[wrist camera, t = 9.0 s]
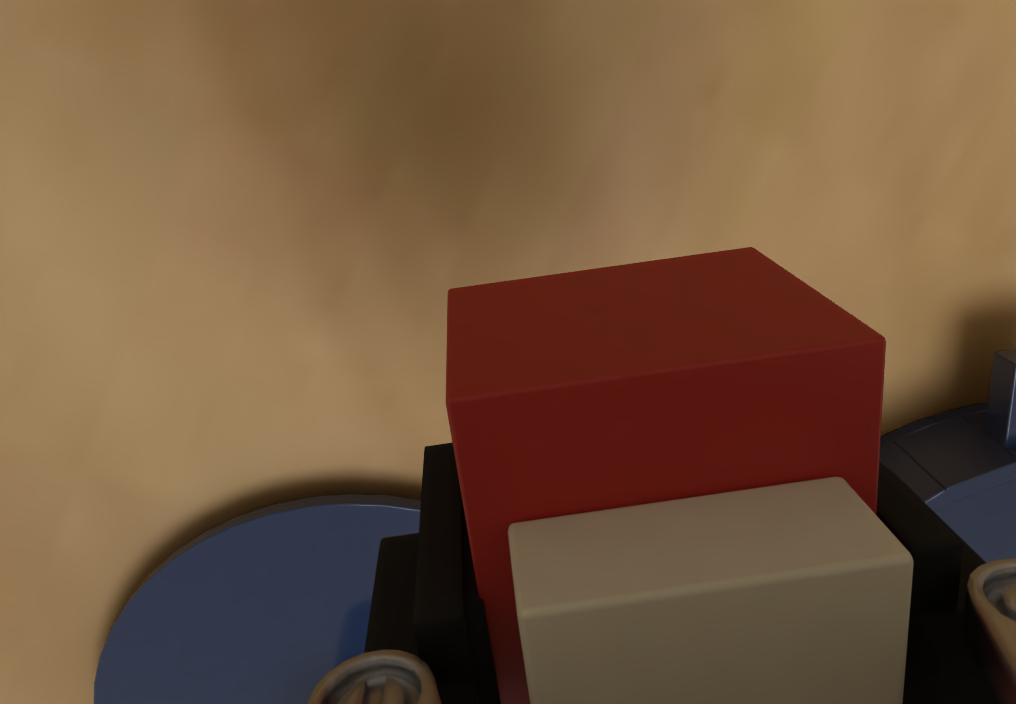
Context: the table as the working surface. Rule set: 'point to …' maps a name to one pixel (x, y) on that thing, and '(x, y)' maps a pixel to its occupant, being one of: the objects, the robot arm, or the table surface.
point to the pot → (966, 464)
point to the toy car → (676, 486)
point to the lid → (254, 605)
